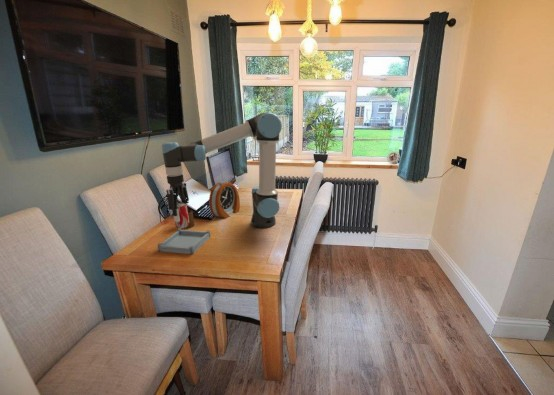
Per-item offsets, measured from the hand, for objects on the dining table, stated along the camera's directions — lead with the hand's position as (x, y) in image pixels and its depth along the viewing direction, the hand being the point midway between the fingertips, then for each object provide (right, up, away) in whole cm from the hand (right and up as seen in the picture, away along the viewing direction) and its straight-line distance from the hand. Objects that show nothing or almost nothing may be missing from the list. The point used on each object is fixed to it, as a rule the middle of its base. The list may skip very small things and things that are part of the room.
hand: (181, 218), depth 135 cm
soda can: (0, -4, +1) cm, 5 cm away
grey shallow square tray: (+1, -14, +5) cm, 15 cm away
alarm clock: (+15, -1, +44) cm, 47 cm away
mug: (-7, -8, +25) cm, 27 cm away
